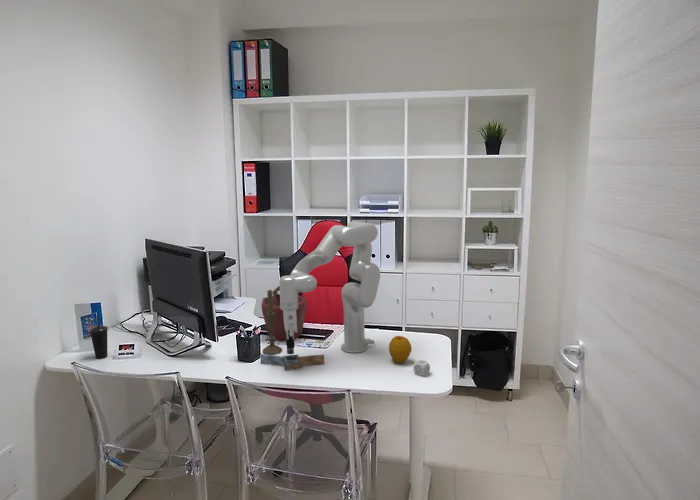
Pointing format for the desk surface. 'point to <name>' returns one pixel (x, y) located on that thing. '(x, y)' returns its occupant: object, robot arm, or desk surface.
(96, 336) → the drinking cup
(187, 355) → the desk surface
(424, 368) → the die
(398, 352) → the apple
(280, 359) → the hammer
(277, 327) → the bucket
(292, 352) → the pin
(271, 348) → the candlestick holder
